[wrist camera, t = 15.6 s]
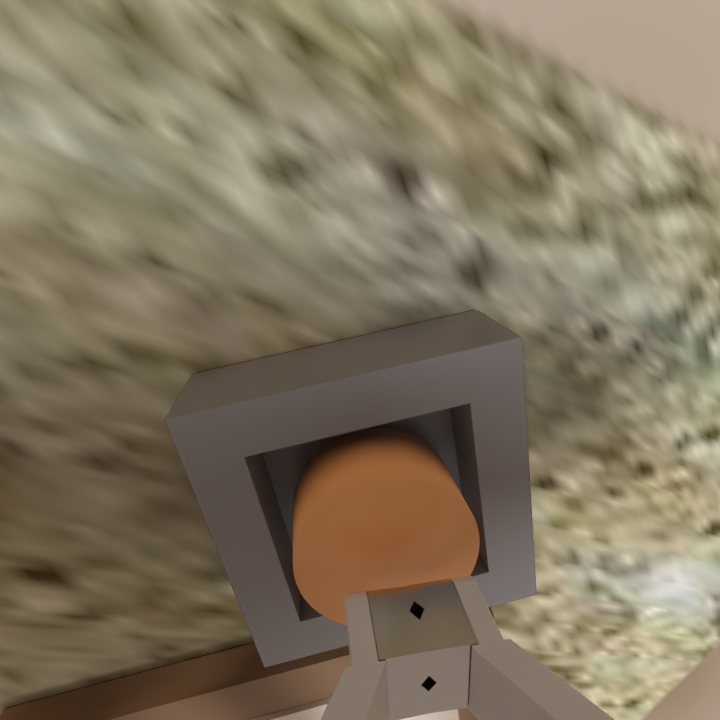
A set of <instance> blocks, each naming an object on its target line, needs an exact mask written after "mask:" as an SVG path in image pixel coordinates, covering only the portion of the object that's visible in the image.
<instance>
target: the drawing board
mask: <svg viewBox="0 0 720 720" xmlns="http://www.w3.org/2000/svg"><path fill="white" fill-rule="evenodd" d="M489 610H490V612H491V614H492V616H493V618H494V615H493V613H492V610H491V608H490V607H489ZM349 666H350V657H349V647H348V645H347V646H343V647H340V648H336V649H332V650H329V651H325V652H321V653H317V654H314V655H310V656H306V657H302V658H299V659H295V660H291V661H288V662H284V663H280V664H276V665H273V666H269V667H264V665H263V662H262V660H261V657H260V655H259V652H258V650H257V647H256V645H255V643H251V644H248V645H244V646H240V647H236V648H232V649H229V650H225V651H221V652H217V653H214V654H210V655H206V656H202V657H199V658H195V659H191V660H187V661H183V662H180V663H176V664H172V665H168V666H165V667H161V668H157V669H153V670H149V671H146V672H142V673H138V674H134V675H131V676H127V677H123V678H119V679H115V680H112V681H108V682H104V683H100V684H97V685H93V686H89V687H85V688H81V689H78V690H74V691H70V692H66V693H63V694H59V695H55V696H51V697H47V698H44V699H40V700H36V701H32V702H29V703H25V704H21V705H17V706H13V707H10V708H6V709H4V711H3V713H2V714H1V716H0V720H321V718H322V716H323V713H324V711H325V709H326V707H327V705H328V703H329V701H330V698H331V696H332V694H333V692H334V690H335V688H336V686H337V683H338V681H339V679H340V677H341V675H342V673H343V670H344V668H345V667H349ZM401 720H477V719H476V718H475V716H474V715H473V714H472V713H471V712H470V711H469V707H468V708H462V709H455V710H448V711H442V712H435V713H428V714H424V715H419V716H415V717H410V718H406V719H401Z"/></svg>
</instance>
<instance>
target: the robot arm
mask: <svg viewBox="0 0 720 720" xmlns="http://www.w3.org/2000/svg"><path fill="white" fill-rule="evenodd" d="M344 602H345V613H346V624H347V635H348V647H349V657H350V666H349V667H345V668H344V670H343V673H342V675H341V677H340V679H339V681H338V683H337V686H336V688H335V690H334V692H333V694H332V696H331V698H330V701H329V703H328V705H327V707H326V709H325V711H324V713H323V716H322V718H321V720H401V719H406V718H410V717H415V716H419V715H424V714H428V713H435V712H442V711H448V710H455V709H462V708H468V707H469V711H470V712H471V713H472V714H473V715H474V716H475V718H476V719H477V720H614V719H613V718H611V717H610V716H609V715H607V714H606V713H605V712H604V711H602V710H601V709H600V708H598V707H597V706H596V705H594V704H593V703H592V702H591V701H589V700H588V699H587V698H585V697H584V696H583V695H582V694H580V693H579V692H578V691H576V690H575V689H574V688H573V687H571V686H570V685H569V684H567V683H566V682H565V681H564V680H562V679H561V678H560V677H558V676H557V675H556V674H555V673H553V672H552V671H551V670H549V669H548V668H547V667H545V666H544V665H543V664H542V663H540V662H539V661H538V660H536V659H535V658H534V657H533V656H531V655H530V654H529V653H527V652H526V651H525V650H524V649H522V648H521V647H520V646H518V645H517V644H516V643H515V642H513V641H512V640H511V639H509V640H503V637H502V635H501V633H500V631H499V629H498V627H497V625H496V623H495V620H494V618H493V616H492V614H491V612H490V610H489V608H488V606H487V603H486V601H485V599H484V597H483V595H482V593H481V591H480V589H479V587H478V584H477V582H476V580H475V578H473V577H472V576H464V577H458V578H451V579H443V580H437V581H431V582H425V583H419V584H413V585H408V586H405V587H397V588H389V589H380V590H372V591H367V592H359V593H351V594H344Z"/></svg>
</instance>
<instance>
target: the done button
mask: <svg viewBox="0 0 720 720" xmlns="http://www.w3.org/2000/svg"><path fill="white" fill-rule="evenodd" d="M479 546H480V538H479V530H478V526H477V523H476V520H475V518H474V516H473V514H472V512H471V510H470V508H469V507H468V505H467V503H466V501H465V500H464V498H463V496H462V494H461V492H460V491H459V489H458V487H457V485H456V484H455V482H454V480H453V478H452V476H451V475H450V473H449V471H448V469H447V467H446V466H445V464H444V462H443V460H442V459H441V457H440V456H439V454H438V453H437V452H436V451H435V450H434V448H432V447H431V446H430V445H429V444H428V443H427V442H425V441H424V440H422V439H420V438H419V437H417V436H415V435H412V434H410V433H407V432H404V431H400V430H395V429H387V428H374V429H365V430H360V431H356V432H352V433H349V434H346V435H344V436H342V437H339V438H337V439H336V440H334V441H332V442H330V443H329V444H327V445H326V446H324V447H323V448H322V449H320V450H319V451H318V452H317V453H316V454H315V455H314V456H313V457H312V458H311V459H310V461H309V462H308V463H307V464H306V466H305V467H304V469H303V471H302V472H301V474H300V476H299V479H298V481H297V484H296V487H295V491H294V503H293V573H294V577H295V582H296V584H297V587H298V589H299V591H300V593H301V594H302V596H303V597H304V599H305V600H306V601H307V602H308V604H309V605H310V606H311V607H312V608H314V609H315V610H316V611H317V612H318V613H320V614H322V615H323V616H325V617H327V618H328V619H331V620H333V621H335V622H338V623H341V624H344V625H347V624H346V613H345V602H344V594H351V593H359V592H367V591H372V590H380V589H389V588H397V587H405V586H408V585H413V584H419V583H425V582H431V581H437V580H443V579H451V578H458V577H464V576H470V575H471V573H472V571H473V569H474V567H475V564H476V561H477V558H478V554H479Z"/></svg>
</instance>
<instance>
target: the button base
mask: <svg viewBox="0 0 720 720" xmlns="http://www.w3.org/2000/svg"><path fill="white" fill-rule="evenodd" d="M165 422H166V424H167V427H168V429H169V432H170V434H171V437H172V439H173V442H174V444H175V447H176V449H177V452H178V454H179V457H180V459H181V462H182V464H183V467H184V469H185V472H186V474H187V476H188V479H189V481H190V484H191V486H192V489H193V491H194V494H195V496H196V499H197V501H198V504H199V506H200V509H201V511H202V514H203V516H204V519H205V521H206V524H207V526H208V529H209V531H210V533H211V536H212V538H213V541H214V543H215V546H216V548H217V551H218V553H219V556H220V558H221V561H222V563H223V566H224V568H225V571H226V573H227V576H228V578H229V581H230V583H231V586H232V588H233V590H234V593H235V595H236V598H237V600H238V603H239V605H240V608H241V610H242V613H243V615H244V618H245V620H246V623H247V625H248V628H249V630H250V633H251V635H252V638H253V640H254V643H255V645H256V647H257V650H258V652H259V655H260V657H261V660H262V662H263V665H264V667H269V666H273V665H276V664H280V663H284V662H288V661H291V660H295V659H299V658H302V657H306V656H310V655H314V654H317V653H321V652H325V651H329V650H332V649H336V648H340V647H343V646H347V645H348V635H347V625H344V624H341V623H338V622H335V621H333V620H331V619H328V618H327V617H325V616H323V615H322V614H320V613H318V612H317V611H316V610H315V609H314V608H312V607H311V606H310V605H309V604H308V602H307V601H306V600H305V599H304V597H303V596H302V594H301V593H300V591H299V589H298V587H297V584H296V582H295V577H294V573H293V503H294V491H295V487H296V484H297V481H298V479H299V476H300V474H301V472H302V471H303V469H304V467H305V466H306V464H307V463H308V462H309V461H310V459H311V458H312V457H313V456H314V455H315V454H316V453H317V452H318V451H319V450H320V449H322V448H323V447H324V446H326V445H327V444H329V443H330V442H332V441H334V440H336V439H337V438H339V437H342V436H344V435H346V434H349V433H352V432H356V431H360V430H365V429H374V428H387V429H395V430H400V431H404V432H407V433H410V434H412V435H415V436H417V437H419V438H420V439H422V440H424V441H425V442H427V443H428V444H429V445H430V446H431V447H432V448H434V450H435V451H436V452H437V453H438V454H439V456H440V457H441V459H442V460H443V462H444V464H445V466H446V467H447V469H448V471H449V473H450V475H451V476H452V478H453V480H454V482H455V484H456V485H457V487H458V489H459V491H460V492H461V494H462V496H463V498H464V500H465V501H466V503H467V505H468V507H469V508H470V510H471V512H472V514H473V516H474V518H475V520H476V523H477V526H478V530H479V538H480V546H479V554H478V558H477V561H476V564H475V567H474V569H473V571H472V573H471V575H470V576H472V577H473V578H475V580H476V582H477V584H478V587H479V589H480V591H481V593H482V595H483V597H484V599H485V601H486V603H487V606H488V608H489V607H492V606H496V605H500V604H504V603H507V602H511V601H515V600H518V599H522V598H526V597H530V596H533V595H537V592H536V575H535V558H534V541H533V524H532V507H531V490H530V473H529V455H528V438H527V421H526V404H525V387H524V370H523V353H522V337H520V336H519V335H517V334H515V333H514V332H512V331H510V330H509V329H507V328H505V327H504V326H502V325H501V324H499V323H497V322H496V321H494V320H492V319H491V318H489V317H487V316H486V315H484V314H482V313H481V312H479V311H477V310H472V311H468V312H464V313H459V314H455V315H450V316H446V317H442V318H437V319H433V320H428V321H424V322H419V323H415V324H411V325H406V326H402V327H397V328H393V329H388V330H384V331H380V332H375V333H371V334H366V335H362V336H357V337H353V338H349V339H344V340H340V341H335V342H331V343H327V344H322V345H318V346H313V347H309V348H304V349H300V350H296V351H291V352H287V353H282V354H278V355H273V356H269V357H265V358H260V359H256V360H251V361H247V362H243V363H238V364H234V365H229V366H225V367H220V368H216V369H212V370H207V371H203V372H198V373H194V374H192V375H191V377H190V379H189V380H188V382H187V384H186V385H185V387H184V389H183V390H182V392H181V394H180V395H179V397H178V399H177V400H176V402H175V404H174V405H173V407H172V409H171V410H170V412H169V414H168V415H167V417H166V419H165Z"/></svg>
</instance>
